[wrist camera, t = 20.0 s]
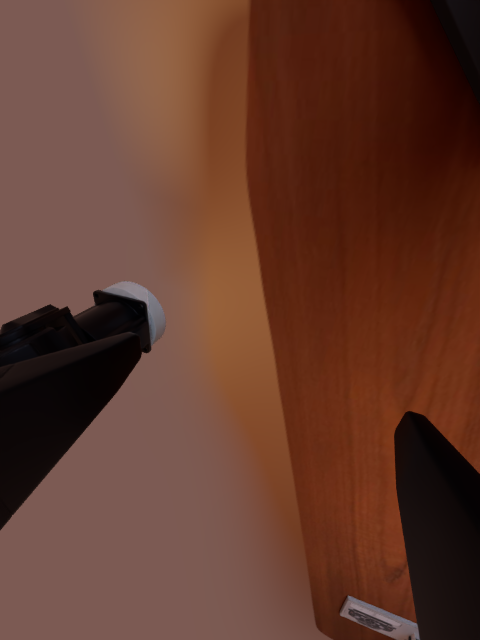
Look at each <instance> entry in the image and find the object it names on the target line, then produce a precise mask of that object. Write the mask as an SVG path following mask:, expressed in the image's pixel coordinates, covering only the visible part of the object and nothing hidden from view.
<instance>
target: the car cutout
mask: <svg viewBox="0 0 480 640" xmlns="http://www.w3.org/2000/svg"><path fill="white" fill-rule="evenodd" d="M340 615H341V616H343V617H346V618H348V619H350V620H352V621H355V622H357V623H359V624H362V625H364V626H366V627H369V628H371V629H373V630H376V631H378V632H380V633H382V634H385V635H387V636H389V637H392V638H394V639H396V640H420V638H419V631H418V625H417V624H416V623H413V622H411V621H409V620H406V619H404V618H401V617H399V616H396V615H394V614H392V613H389V612H387V611H384V610H382V609H379V608H377V607H375V606H372V605H370V604H367V603H365V602H362V601H360V600H358V599H355V598H353V597H350V596H348V597H347V598H346V600H345V602H344V604H343V606H342V608H341V610H340Z"/></svg>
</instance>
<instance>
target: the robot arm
mask: <svg viewBox="0 0 480 640" xmlns="http://www.w3.org/2000/svg"><path fill="white" fill-rule="evenodd" d="M93 296H94V301H95V306H93V307H91V308H89V309H87V310H85V311H83V312H81V313H79V314H78V315H76V316H74V317H73V316H72V314H71V313H70V310H69V308H68V307H65V308H62V309H60V310H59V308H56V307H54V306H52V305H51V304H50V305H47V306H45V307H43V308H41V309H38V310H36V311H34V312H31V313H29V314H27V315H24V316H22V317H20V318H17V319H15V320H13V321H10V322H8V323H6V324H3V325H2V327H1V330H0V530H1V529H2V528H3V526H4V525H5V524H6V523H7V522H8V520H9V519H10V518H11V517H12V515H13V514H14V513H15V512H16V511H17V510H18V509H19V507H20V506H21V505H22V503H24V501H25V500H26V499H27V498H28V497H29V496H30V494H31V493H32V492H33V491H34V490H35V488H36V487H37V486H38V485H39V484H40V482H41V481H42V480H43V479H44V478H45V477H46V476H47V474H48V473H49V472H50V471H51V470H52V468H53V467H54V466H55V465H56V464H57V462H58V461H59V460H60V459H61V458H62V457H63V455H64V454H65V453H66V452H67V451H68V450H69V448H70V447H71V446H72V445H73V444H74V443H75V441H76V440H77V439H78V438H79V437H80V435H81V434H82V433H83V432H84V431H85V429H86V428H87V427H88V426H89V425H90V424H91V422H92V421H93V420H94V419H95V418H96V416H97V415H98V414H99V413H100V412H101V411H102V409H103V408H104V407H105V406H106V405H107V403H108V402H109V401H110V400H111V399H112V398H113V396H114V395H115V394H116V393H117V391H118V390H119V389H120V387H121V386H122V385H123V383H124V382H125V380H126V379H127V377H128V376H129V374H130V373H131V372H132V370H133V369H134V367H135V366H136V364H137V363H138V361H139V360H140V358H141V354H142V352H144V353H149V352H150V351H151V340H150V329H149V320H148V310H147V304H146V303H145V302H144V301H142V300H137V299H133V298H129V297H125V296H121V295H117V294H113V293H109V292H105V291H101V290H97V291H94V292H93ZM141 305H142V306H143V307H142V306H141ZM394 443H395V469H396V489H397V497H398V503H399V510H400V516H401V523H402V529H403V535H404V542H405V548H406V555H407V561H408V567H409V574H410V580H411V587H412V593H413V599H414V606H415V612H416V619H417V625H418V631H419V638H420V640H480V474H479V473H478V472H477V471H476V470H475V469H474V467H473V466H472V465H471V464H470V463H469V462H468V461H467V460H466V459H465V458H464V457H463V456H462V455H461V454H460V453H459V452H458V451H457V450H456V448H455V447H454V446H453V445H452V444H451V443H450V442H449V441H448V440H447V439H446V438H445V437H444V436H443V435H442V434H441V433H440V432H439V431H438V430H437V428H436V427H435V426H434V425H433V424H432V423H431V422H430V421H429V420H428V419H427V418H426V417H425V416H424V415H422V414H418V413H415V412H411V411H408V412H406V413H405V414H404V416H403V418H402V419H401V421H400V423H399V424H398V426H397V428H396V430H395V434H394Z"/></svg>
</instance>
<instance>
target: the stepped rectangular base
mask: <svg viewBox="0 0 480 640" xmlns="http://www.w3.org/2000/svg"><path fill="white" fill-rule="evenodd" d="M430 1H431V3H432V5H433V7H434V9H435V11H436V13H437V16H438V18H439V20H440V22H441V24H442V26H443V28H444V30H445V32H446V35H447V37H448V39H449V41H450V43H451V45H452V47H453V49H454V52H455V54H456V56H457V58H458V60H459V62H460V64H461V66H462V68H463V71H464V73H465V75H466V77H467V79H468V81H469V83H470V85H471V88H472V90H473V92H474V94H475V96H476V98H477V100H478V102H479V104H480V0H430Z"/></svg>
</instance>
